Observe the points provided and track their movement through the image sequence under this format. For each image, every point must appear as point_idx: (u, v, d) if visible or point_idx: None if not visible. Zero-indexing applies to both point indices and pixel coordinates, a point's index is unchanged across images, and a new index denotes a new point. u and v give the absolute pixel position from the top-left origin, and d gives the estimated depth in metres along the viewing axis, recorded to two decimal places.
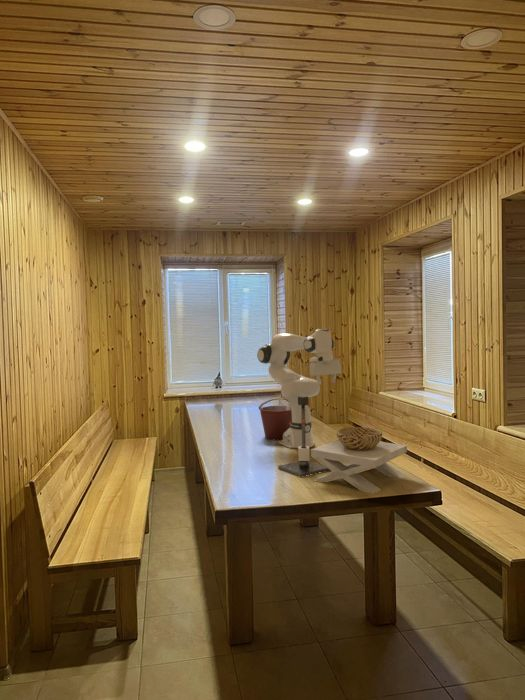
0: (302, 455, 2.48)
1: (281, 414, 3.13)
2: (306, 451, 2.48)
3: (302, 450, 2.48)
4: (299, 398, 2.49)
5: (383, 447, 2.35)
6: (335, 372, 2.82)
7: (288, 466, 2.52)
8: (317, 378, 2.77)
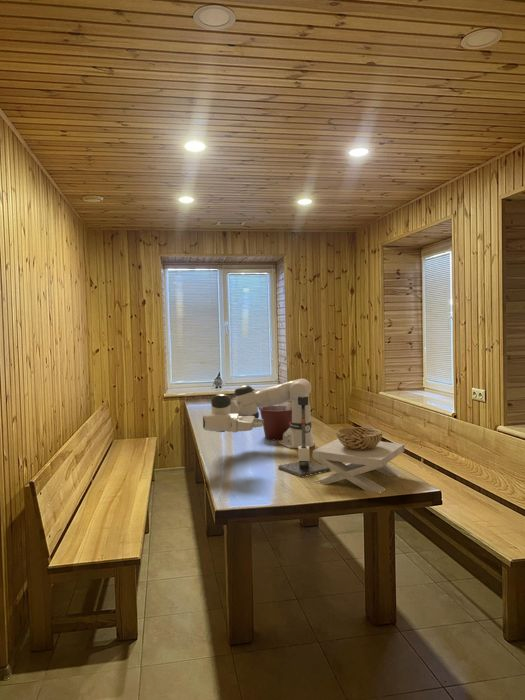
0: (302, 455, 2.48)
1: (281, 414, 3.13)
2: (306, 451, 2.48)
3: (302, 450, 2.48)
4: (299, 398, 2.49)
5: (382, 446, 2.36)
6: (252, 417, 2.57)
7: (288, 466, 2.52)
8: (255, 425, 2.45)
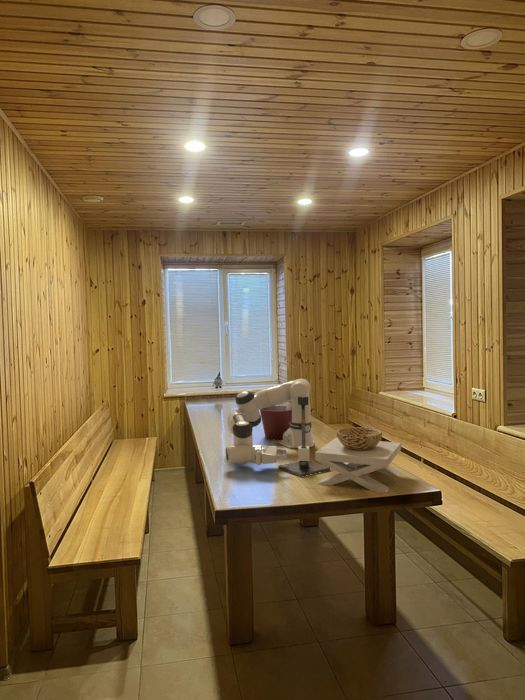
0: (302, 455, 2.48)
1: (281, 414, 3.13)
2: (306, 451, 2.48)
3: (302, 450, 2.48)
4: (299, 398, 2.49)
5: (381, 446, 2.38)
6: (275, 447, 2.57)
7: (288, 466, 2.52)
8: (280, 457, 2.45)
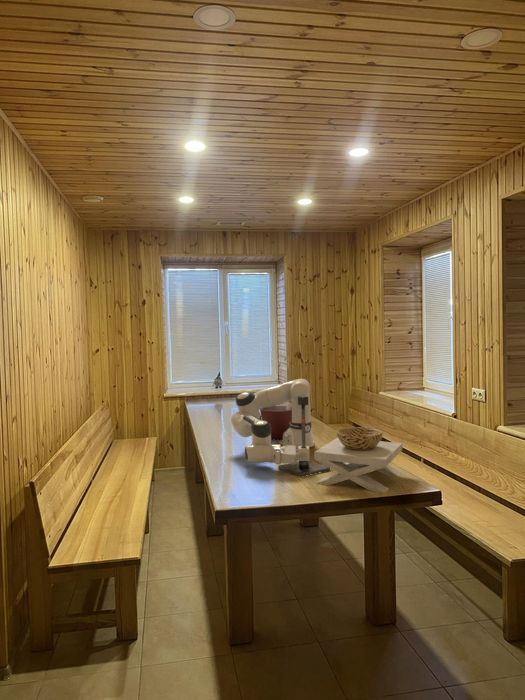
0: None
1: (281, 414, 3.13)
2: (306, 451, 2.48)
3: (302, 450, 2.48)
4: (299, 398, 2.49)
5: (382, 446, 2.37)
6: (294, 447, 2.56)
7: (288, 466, 2.52)
8: (299, 456, 2.46)
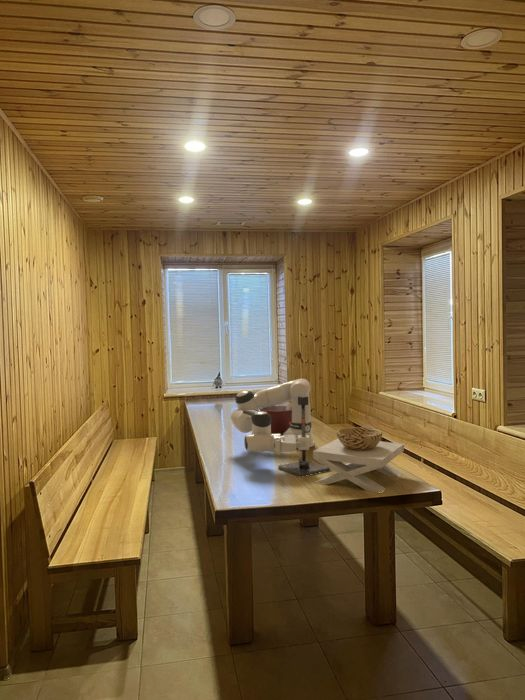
0: None
1: (281, 414, 3.13)
2: (306, 440, 2.48)
3: (302, 439, 2.48)
4: (299, 398, 2.49)
5: (382, 446, 2.36)
6: (294, 436, 2.56)
7: (288, 466, 2.52)
8: (299, 445, 2.46)
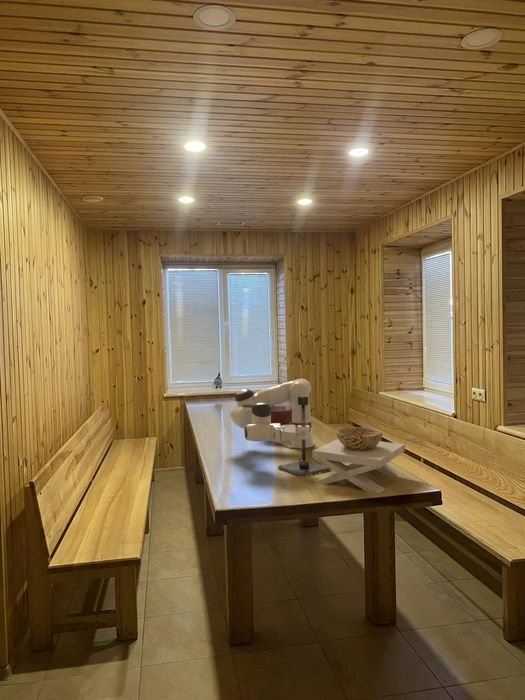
0: None
1: (281, 414, 3.13)
2: (306, 429, 2.48)
3: (302, 429, 2.48)
4: (299, 398, 2.49)
5: (382, 446, 2.36)
6: (294, 426, 2.56)
7: (288, 466, 2.52)
8: (299, 434, 2.46)
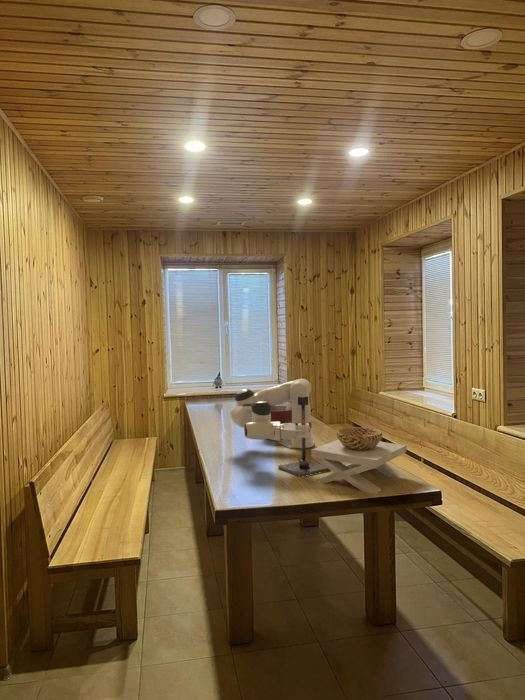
0: None
1: (281, 414, 3.13)
2: (306, 428, 2.48)
3: (302, 427, 2.48)
4: (299, 398, 2.49)
5: (383, 447, 2.35)
6: (293, 424, 2.56)
7: (288, 466, 2.52)
8: (299, 433, 2.44)
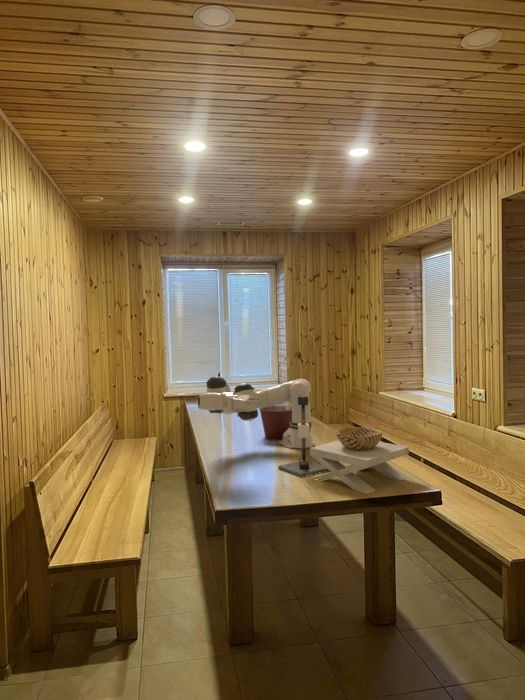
0: (302, 432, 2.48)
1: (281, 414, 3.13)
2: (306, 428, 2.48)
3: (302, 427, 2.48)
4: (299, 398, 2.49)
5: (383, 448, 2.33)
6: (248, 396, 2.57)
7: (288, 466, 2.52)
8: (251, 403, 2.45)
